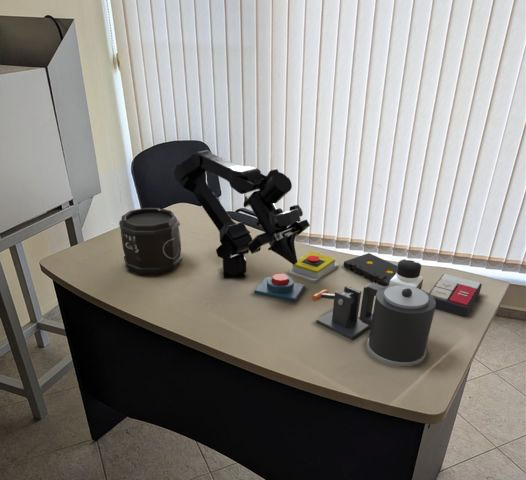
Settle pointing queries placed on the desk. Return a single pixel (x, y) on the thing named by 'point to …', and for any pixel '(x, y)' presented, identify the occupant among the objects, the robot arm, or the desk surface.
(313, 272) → the emergency button
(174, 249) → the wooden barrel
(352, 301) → the switch lever
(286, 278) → the power button
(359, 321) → the switch base
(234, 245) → the robot arm
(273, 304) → the desk surface
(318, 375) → the desk surface
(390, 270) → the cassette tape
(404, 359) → the kettle
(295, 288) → the blue button base
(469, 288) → the grey red panel box
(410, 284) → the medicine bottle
